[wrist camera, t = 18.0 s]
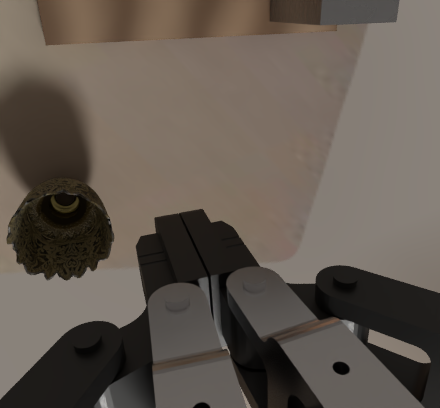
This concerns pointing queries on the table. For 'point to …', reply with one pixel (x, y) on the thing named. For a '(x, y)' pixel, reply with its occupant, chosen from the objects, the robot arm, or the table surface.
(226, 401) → the robot arm
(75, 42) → the baseboard
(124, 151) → the table surface
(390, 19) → the block
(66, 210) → the cup
